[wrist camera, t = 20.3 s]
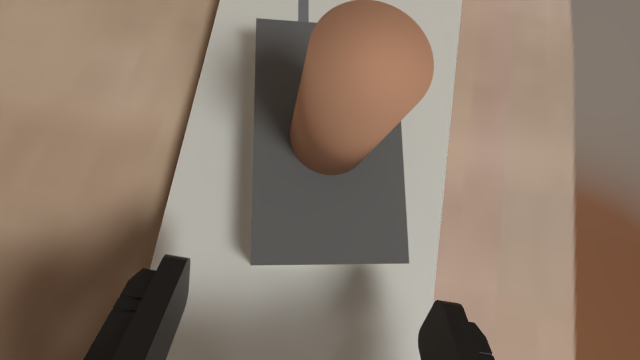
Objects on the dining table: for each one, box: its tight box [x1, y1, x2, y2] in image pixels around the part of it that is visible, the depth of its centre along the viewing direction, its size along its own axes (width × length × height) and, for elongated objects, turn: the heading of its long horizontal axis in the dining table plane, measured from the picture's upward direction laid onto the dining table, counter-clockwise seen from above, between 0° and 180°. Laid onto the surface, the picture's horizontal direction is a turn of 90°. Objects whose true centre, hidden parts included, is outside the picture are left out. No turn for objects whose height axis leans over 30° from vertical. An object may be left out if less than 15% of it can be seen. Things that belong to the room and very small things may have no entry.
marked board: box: [150, 0, 462, 360], centre depth 18 cm, size 26×12×2 cm, turn 170°
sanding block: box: [250, 0, 434, 266], centre depth 14 cm, size 10×6×8 cm, turn 1°
